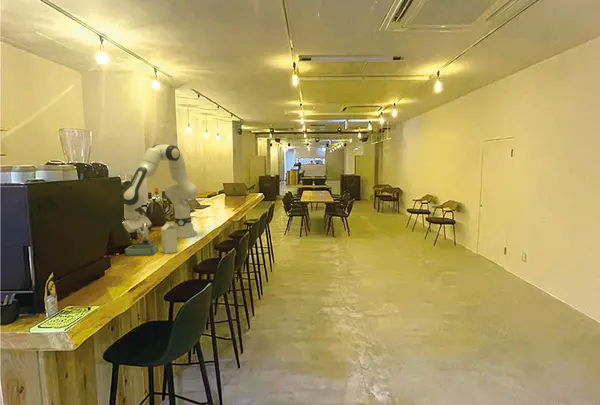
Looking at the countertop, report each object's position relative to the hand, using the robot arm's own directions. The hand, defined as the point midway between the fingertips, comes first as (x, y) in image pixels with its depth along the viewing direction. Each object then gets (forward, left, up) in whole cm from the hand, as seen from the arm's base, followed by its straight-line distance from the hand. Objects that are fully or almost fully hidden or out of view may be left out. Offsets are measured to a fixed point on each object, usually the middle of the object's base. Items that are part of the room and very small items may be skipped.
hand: (146, 233), depth 236 cm
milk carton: (+7, +16, -11) cm, 21 cm away
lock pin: (0, -1, -8) cm, 8 cm away
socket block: (0, -1, -10) cm, 10 cm away
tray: (+10, 0, -10) cm, 14 cm away
